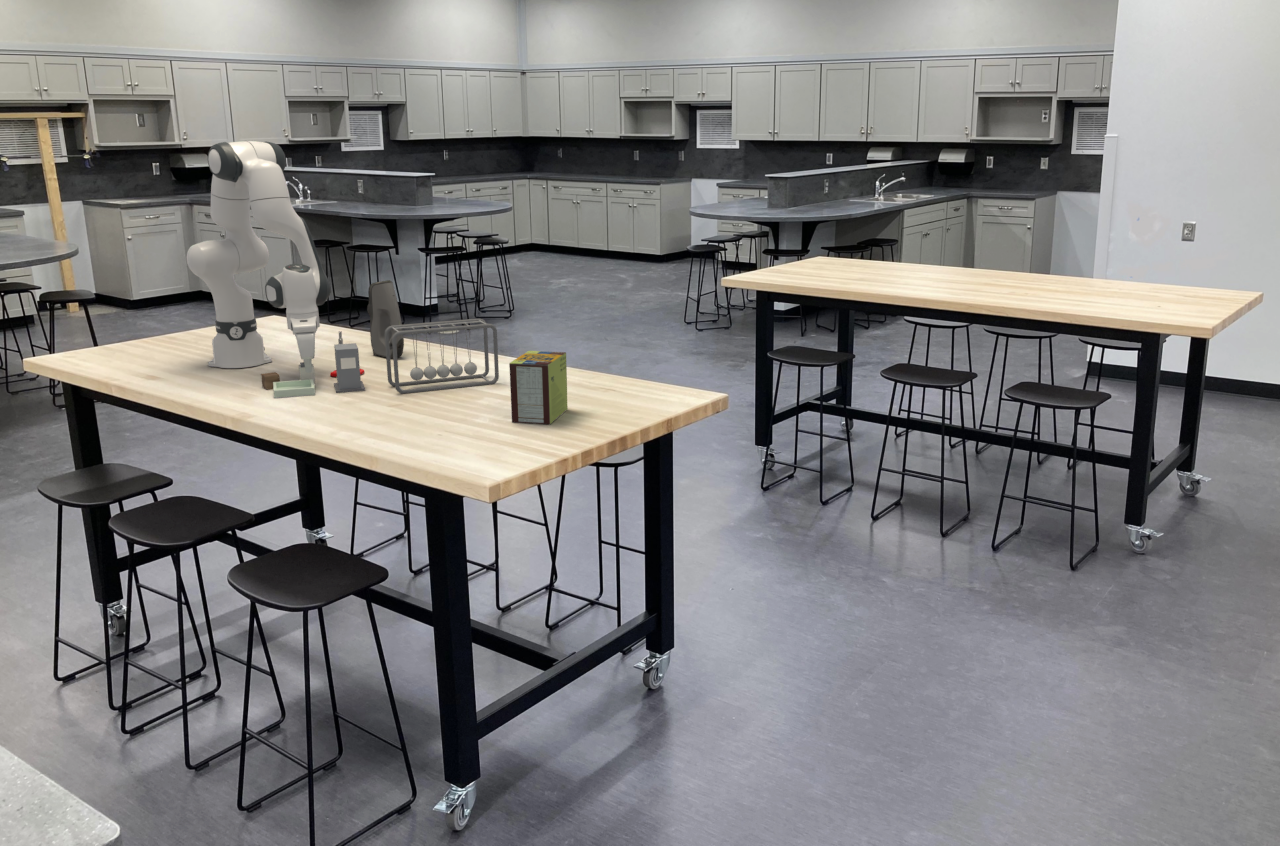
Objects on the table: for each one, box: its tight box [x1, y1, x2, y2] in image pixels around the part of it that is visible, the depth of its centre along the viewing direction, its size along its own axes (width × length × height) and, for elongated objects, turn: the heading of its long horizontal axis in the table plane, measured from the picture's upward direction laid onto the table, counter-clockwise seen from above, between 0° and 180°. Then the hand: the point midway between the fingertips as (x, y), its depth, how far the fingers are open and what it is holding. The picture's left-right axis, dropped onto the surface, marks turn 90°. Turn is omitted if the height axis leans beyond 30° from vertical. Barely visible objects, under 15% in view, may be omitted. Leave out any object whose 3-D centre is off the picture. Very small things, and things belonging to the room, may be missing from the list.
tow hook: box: [329, 330, 365, 378], centre depth 316 cm, size 9×14×10 cm
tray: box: [272, 379, 316, 399], centre depth 295 cm, size 11×11×2 cm
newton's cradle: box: [385, 318, 500, 395], centre depth 301 cm, size 30×10×18 cm, turn 115°
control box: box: [333, 342, 366, 394], centre depth 299 cm, size 10×8×12 cm
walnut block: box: [260, 371, 281, 391], centre depth 301 cm, size 4×4×4 cm
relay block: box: [298, 361, 316, 385], centre depth 305 cm, size 4×4×6 cm
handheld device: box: [366, 279, 405, 360], centre depth 338 cm, size 6×15×25 cm, turn 46°
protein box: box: [509, 350, 569, 425], centre depth 269 cm, size 10×15×16 cm
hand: (308, 369), depth 305 cm, fingers open, 8 cm apart
